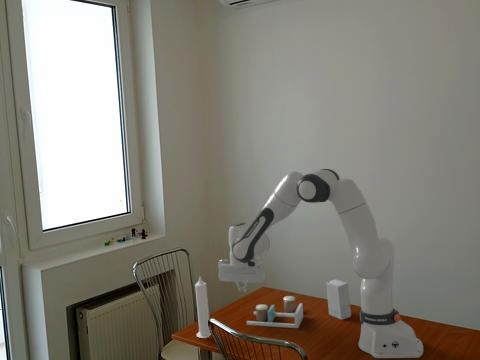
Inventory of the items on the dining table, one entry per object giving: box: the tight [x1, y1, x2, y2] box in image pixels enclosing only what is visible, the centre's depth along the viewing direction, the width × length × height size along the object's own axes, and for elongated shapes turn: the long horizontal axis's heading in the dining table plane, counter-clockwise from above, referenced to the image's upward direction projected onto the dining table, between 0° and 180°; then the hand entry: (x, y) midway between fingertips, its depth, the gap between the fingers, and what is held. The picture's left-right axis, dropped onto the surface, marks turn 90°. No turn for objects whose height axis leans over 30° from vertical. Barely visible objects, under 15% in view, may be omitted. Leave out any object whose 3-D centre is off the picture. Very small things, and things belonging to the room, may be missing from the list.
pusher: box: [267, 304, 279, 323], centre depth 204 cm, size 3×8×5 cm, turn 162°
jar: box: [283, 295, 297, 314], centre depth 213 cm, size 5×5×6 cm
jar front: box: [255, 304, 269, 322], centre depth 205 cm, size 5×5×6 cm
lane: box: [246, 302, 304, 329], centre depth 204 cm, size 22×11×6 cm, turn 72°
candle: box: [194, 276, 211, 339], centre depth 193 cm, size 7×7×25 cm
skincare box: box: [325, 278, 352, 321], centre depth 203 cm, size 8×6×15 cm
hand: (242, 291), depth 207 cm, fingers closed
